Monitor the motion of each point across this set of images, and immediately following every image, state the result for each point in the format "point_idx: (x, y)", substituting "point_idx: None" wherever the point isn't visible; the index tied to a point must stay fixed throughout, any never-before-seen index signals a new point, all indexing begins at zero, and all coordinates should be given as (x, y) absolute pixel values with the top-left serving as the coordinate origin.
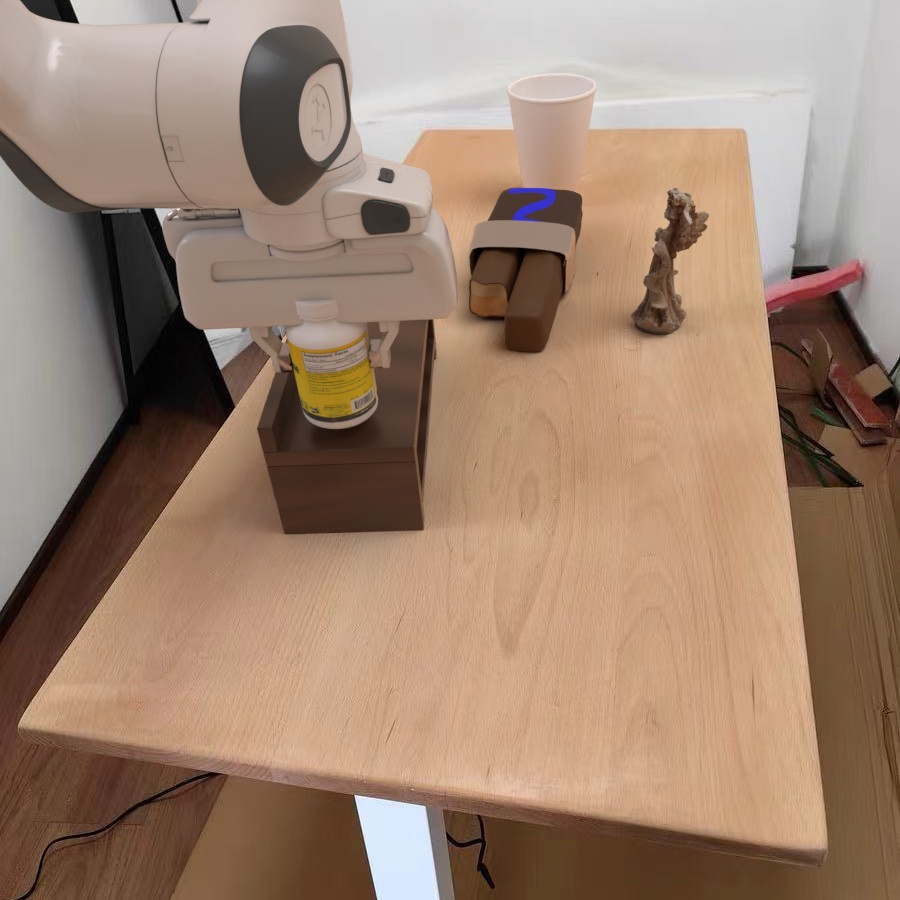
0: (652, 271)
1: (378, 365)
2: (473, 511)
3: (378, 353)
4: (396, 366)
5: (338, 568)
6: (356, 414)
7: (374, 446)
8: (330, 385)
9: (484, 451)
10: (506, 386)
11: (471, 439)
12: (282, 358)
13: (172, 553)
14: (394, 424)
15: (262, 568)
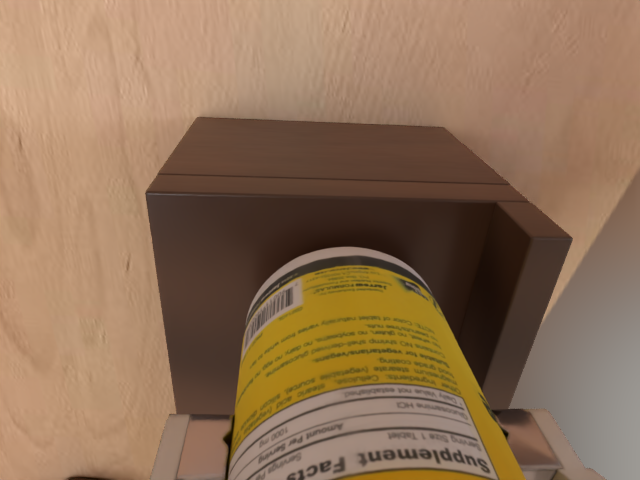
0: None
1: (201, 423)
2: (112, 157)
3: (185, 469)
4: None
5: (346, 28)
6: (291, 276)
7: (250, 201)
8: (365, 342)
9: (118, 294)
10: (108, 419)
11: (145, 320)
12: (539, 456)
13: (633, 96)
14: (210, 277)
15: (484, 42)
